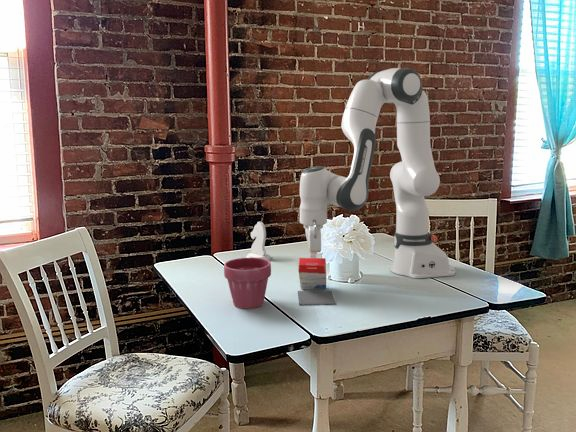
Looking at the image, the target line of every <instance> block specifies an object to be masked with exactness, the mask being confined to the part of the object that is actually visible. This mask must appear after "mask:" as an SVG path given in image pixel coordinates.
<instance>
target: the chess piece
mask: <svg viewBox="0 0 576 432" xmlns="http://www.w3.org/2000/svg"><path fill="white" fill-rule="evenodd" d="M265 226H266V225H265V223H263V222H262V221H257V223H256V224H255V225H254V228H253V229H252V231H251V232H250V237H251V239H252V240H254V239H255V240H254V241H253V242H252V244H251V248H250V251H251V252H249V253H247V255H246V257H245V258H262V259H266V260H268V261H271V260H272V257H271V255H270V254H269V253H268V252H267V251H266V248H265V244H266V238H267V231H266V230H267V229H266V227H265Z"/></svg>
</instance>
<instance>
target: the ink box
mask: <svg viewBox="0 0 576 432" xmlns="http://www.w3.org/2000/svg"><path fill="white" fill-rule="evenodd" d="M298 259H299V260H298V268H297V269H298V270H297V271H298V278H299V285H300V289H304V290H305V289H307V290H326V289H327V265H326V264H327V263H326V262H327V261H326V258H323V257H321V258H319V257H316V258H311V257H299V258H298Z"/></svg>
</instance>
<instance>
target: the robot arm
mask: <svg viewBox="0 0 576 432" xmlns="http://www.w3.org/2000/svg"><path fill="white" fill-rule="evenodd" d="M385 103H387V104H394V105H395V108H396V145H397V149H398V150H399V153H400V157H401V160H400V161H399V162H397V163H395V164H394V165H393V166H392V167H391V169H390V172H389V178H390V181H391V183H392V188H393V189H392V190H393V196H394V202H395V207H396V208H395V210H396V217H395V218H396V219H395V220H396V223H395V231H394V237H393V240H394V241H393V246H394V253H393V258H392V259H393V260H392V262H391V266H390V269H389V270H390V272H392V273H394V274H396V275H400V276H406V277H409V278H412V279H426V278H437V277H439V278H440V277H449V276H452V277H453V276H455V275H456V269H455V268H454V267H453V266H452V265H451V264H450V263H449V258H448V254H447V253H446V252H445V251H443V249H441V248H440V247H439V246H438V245H436V244H435V243H436V242H437V241H438V237H437V236H436V235H435V234H432V233H430V232H429V218H430V217H429V216H430V214H429V208H428V206H427V204H426V198H425V197H429V196H431V195H433V194H435V193H436V192H437V191H438V189H439V187H440V184H441V180H440V174H439V173H438V171H437V170H436V166H435V163H434V162H435V161H434V158H433V153H432V147H431V146H432V145H431V117H430V105H429V99H428V95H427V93H426V92H425V91H424V89H423V82H422V78H421V76H420V73H418V71H417V70H415V69H413V68H409V67H401V68H400V67H394V68H393V67H391V68H388V69H384V70H378V71H375V72H373V73H372V74H370V75H369V77H367V79H361V80H359V81H357V82H356V84H355V86H354V87H353V89H352V91H351V93H350V95H349V98H348V100H347V102H346V106H345V107H344V111H343V114H342V117H341V118H342V119H341V125H340V126H341V130H342V132H343V134H344V136H345V137H346V138H347V139H348V140H349V141H350V142H351V143H352V145H353V149H354V151H353V157H352V161H351V166H350V171H349V175H348V176H347V177H345V176H342V175H338V174H336V173H333V172H331V171H329V170H328V169H326V167H325V166H320V165H317V166H316V165H315V166H310V167H307V168H305V169H303V170H302V172H301V175H300V178H299V179H300V180H299V197H300V205H299V223H300V224H301V225H303V228H304V229H305V230H304V231H305V238H306V241H307V247H308V251H309V258H317V253H321V252H322V229H323V228H324V225H325V224H327V223H328V205H333V206H336V207H339V208H342V209H343V210H346V211H348V212H356V211H359V210H360V209H362V208H363V207H364V206H365V204H367V203H366V202H367V201H368V198H369V181H370V176H371V175H370V174H371V169H372V167H373V166H372V164H373V160H374V156H375V150H376V142H377V138H376V137H377V136H376V125H377V122H378V120H379V119H378V118H379V115H380V112H381V109H382V107H383V105H384V104H385ZM434 242H435V243H434Z"/></svg>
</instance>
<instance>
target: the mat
mask: <svg viewBox="0 0 576 432" xmlns="http://www.w3.org/2000/svg"><path fill="white" fill-rule="evenodd" d="M297 296H298V297H297V298H298V305H299V306H331V305H332V306H334V304H336V305H337V303H336V299H335V295H334V293H333V290H297Z"/></svg>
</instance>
